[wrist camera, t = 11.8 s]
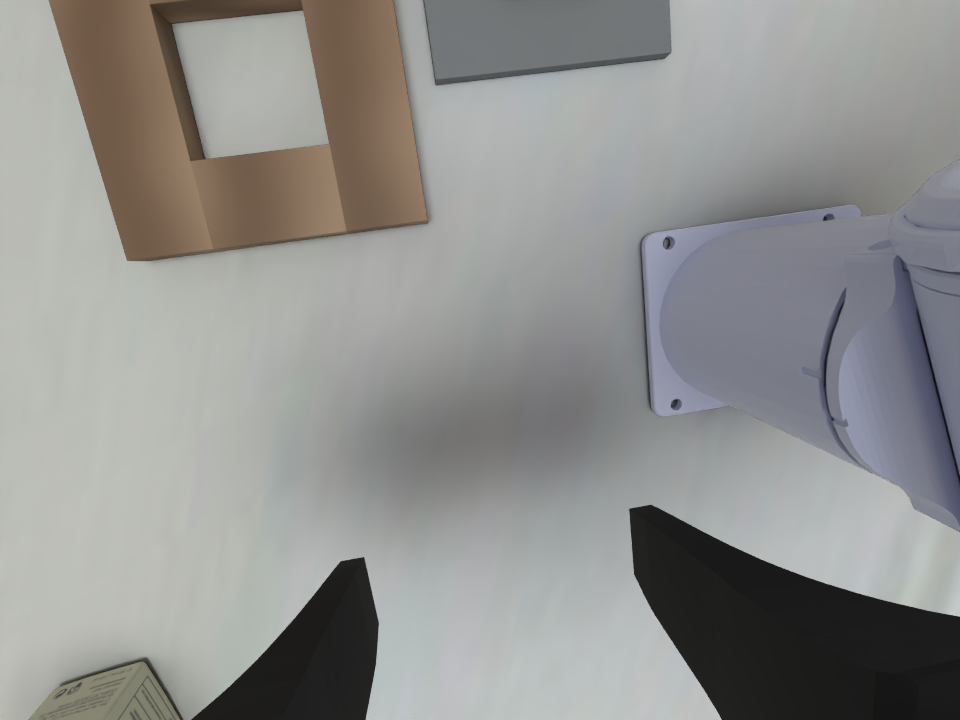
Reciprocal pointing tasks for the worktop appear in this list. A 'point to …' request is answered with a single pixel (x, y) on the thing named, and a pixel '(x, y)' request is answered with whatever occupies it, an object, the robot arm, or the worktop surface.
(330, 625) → the robot arm
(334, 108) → the walnut square frame
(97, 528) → the worktop surface
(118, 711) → the skincare box
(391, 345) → the worktop surface
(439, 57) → the charcoal mat
